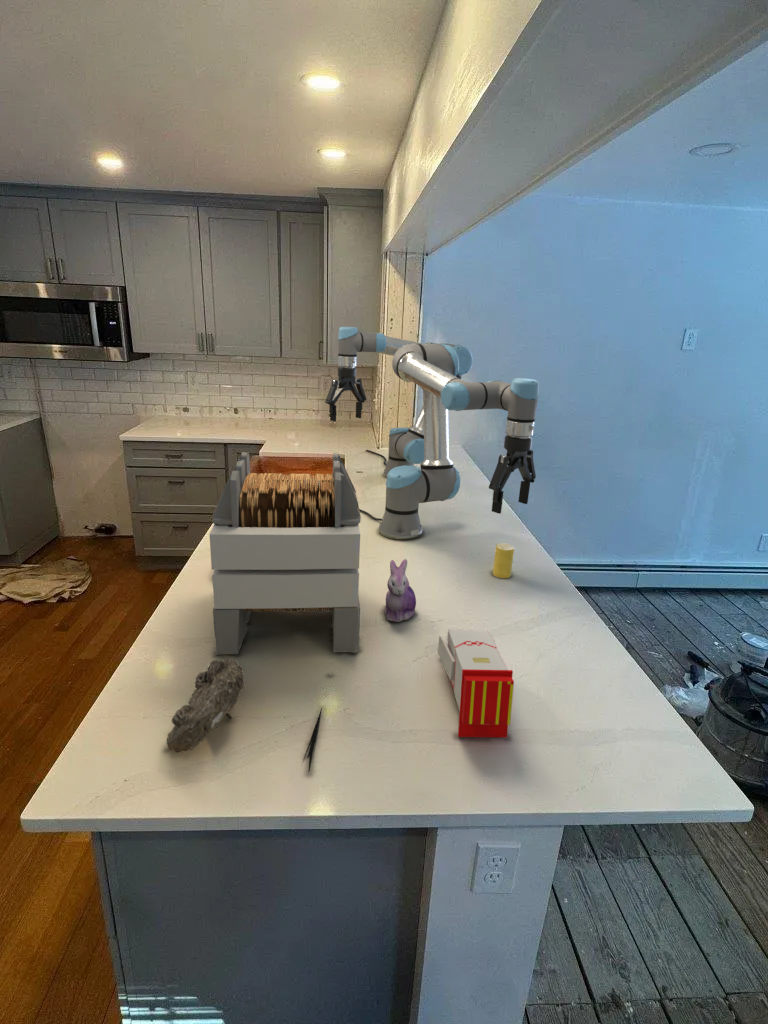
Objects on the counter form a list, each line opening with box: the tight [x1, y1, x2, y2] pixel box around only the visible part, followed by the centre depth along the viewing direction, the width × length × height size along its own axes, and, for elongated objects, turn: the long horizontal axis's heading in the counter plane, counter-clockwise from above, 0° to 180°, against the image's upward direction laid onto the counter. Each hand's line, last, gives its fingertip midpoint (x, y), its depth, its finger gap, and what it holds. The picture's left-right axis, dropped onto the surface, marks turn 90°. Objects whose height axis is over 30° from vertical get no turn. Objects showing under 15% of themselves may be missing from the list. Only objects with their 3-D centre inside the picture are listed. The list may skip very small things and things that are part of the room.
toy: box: [437, 628, 515, 738], centre depth 117 cm, size 12×13×30 cm
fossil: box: [166, 658, 245, 754], centre depth 106 cm, size 22×10×15 cm
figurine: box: [384, 558, 417, 623], centre depth 145 cm, size 9×10×15 cm
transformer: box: [209, 451, 362, 656], centre depth 137 cm, size 34×33×41 cm
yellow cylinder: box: [492, 542, 515, 579], centre depth 171 cm, size 5×5×9 cm
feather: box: [301, 673, 332, 771], centre depth 108 cm, size 2×28×2 cm
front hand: (509, 507), depth 165 cm, fingers open, 13 cm apart
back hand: (346, 419), depth 236 cm, fingers open, 13 cm apart
